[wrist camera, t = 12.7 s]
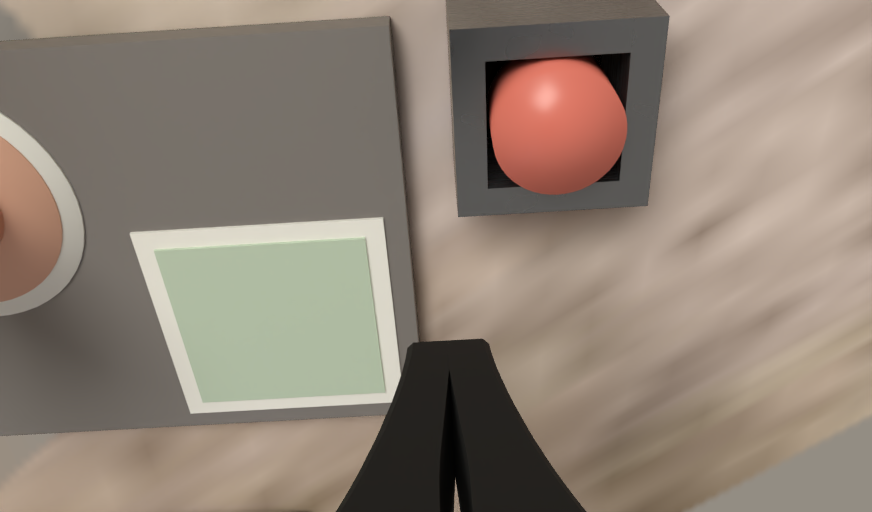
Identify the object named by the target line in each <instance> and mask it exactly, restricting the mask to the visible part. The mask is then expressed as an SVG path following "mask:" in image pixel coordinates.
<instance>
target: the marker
mask: <svg viewBox="0 0 872 512" xmlns="http://www.w3.org/2000/svg"><path fill="white" fill-rule="evenodd" d="M3 235H4V218H3V215H2V212H1V209H0V243H1V241H2V239H3Z"/></svg>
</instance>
